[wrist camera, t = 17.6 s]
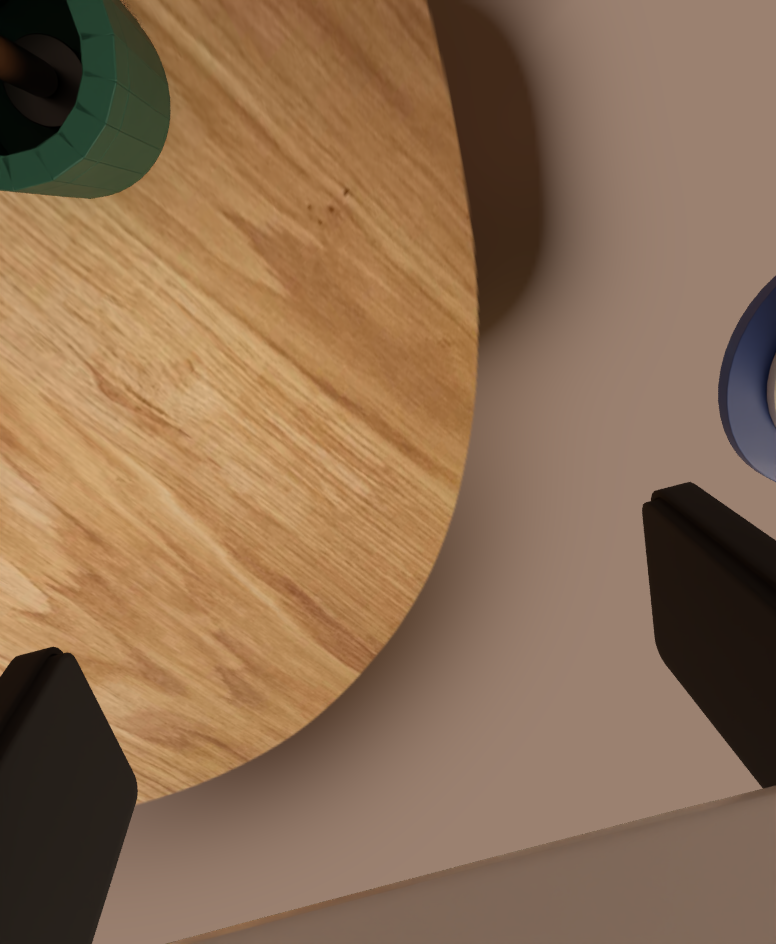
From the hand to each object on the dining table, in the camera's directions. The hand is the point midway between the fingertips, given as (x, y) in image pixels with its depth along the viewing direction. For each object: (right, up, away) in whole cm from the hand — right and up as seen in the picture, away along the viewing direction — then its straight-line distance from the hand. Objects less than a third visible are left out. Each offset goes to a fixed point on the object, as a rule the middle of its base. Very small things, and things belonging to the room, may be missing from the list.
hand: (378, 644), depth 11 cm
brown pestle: (-17, +23, +24) cm, 37 cm away
